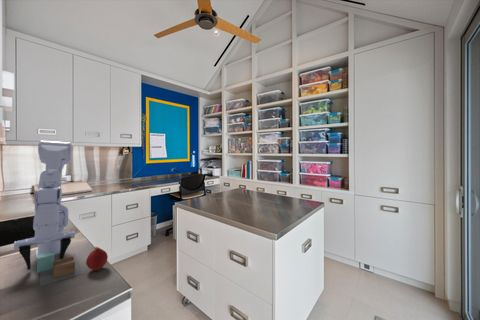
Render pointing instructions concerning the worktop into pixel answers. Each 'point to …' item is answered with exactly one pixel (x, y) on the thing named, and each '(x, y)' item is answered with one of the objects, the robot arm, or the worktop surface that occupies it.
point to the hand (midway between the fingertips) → (45, 264)
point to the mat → (48, 278)
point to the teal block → (45, 261)
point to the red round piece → (96, 259)
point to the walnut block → (63, 267)
